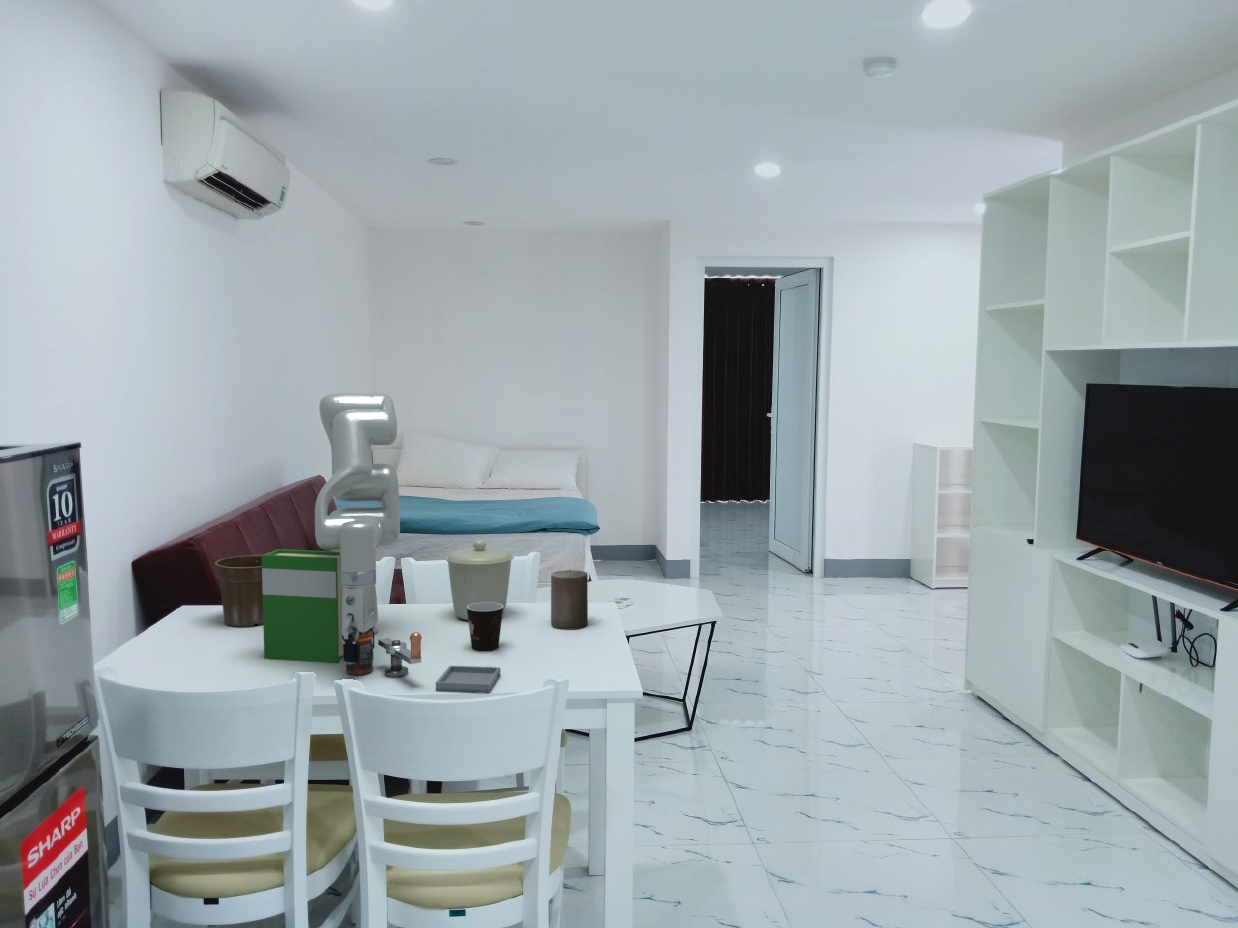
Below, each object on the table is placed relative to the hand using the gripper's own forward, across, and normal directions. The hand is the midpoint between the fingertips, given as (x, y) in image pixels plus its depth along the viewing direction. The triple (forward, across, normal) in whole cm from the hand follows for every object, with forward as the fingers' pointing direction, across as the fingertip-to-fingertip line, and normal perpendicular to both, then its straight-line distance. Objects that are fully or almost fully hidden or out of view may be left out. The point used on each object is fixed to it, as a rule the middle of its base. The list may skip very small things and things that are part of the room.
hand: (359, 654), depth 203 cm
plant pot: (+3, +37, +43) cm, 56 cm away
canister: (+4, +48, -16) cm, 51 cm away
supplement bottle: (+4, 0, 0) cm, 4 cm away
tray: (+4, -4, -25) cm, 26 cm away
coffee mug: (+4, +20, -23) cm, 31 cm away
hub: (+4, 0, -8) cm, 9 cm away
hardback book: (+4, +10, +16) cm, 19 cm away
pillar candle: (+4, +44, -40) cm, 60 cm away
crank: (-1, -2, -10) cm, 10 cm away
